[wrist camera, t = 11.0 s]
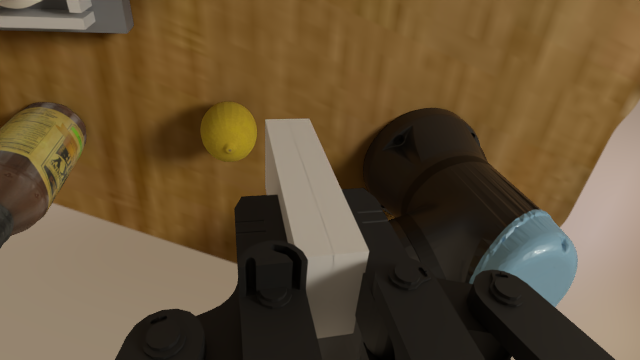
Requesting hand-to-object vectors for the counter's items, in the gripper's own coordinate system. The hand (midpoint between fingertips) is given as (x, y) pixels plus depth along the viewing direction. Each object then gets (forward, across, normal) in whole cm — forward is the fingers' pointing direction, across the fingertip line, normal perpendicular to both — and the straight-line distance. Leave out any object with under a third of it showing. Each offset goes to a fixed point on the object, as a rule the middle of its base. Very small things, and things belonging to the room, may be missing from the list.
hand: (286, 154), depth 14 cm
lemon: (+29, +2, +11) cm, 31 cm away
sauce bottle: (+29, +19, +12) cm, 36 cm away
